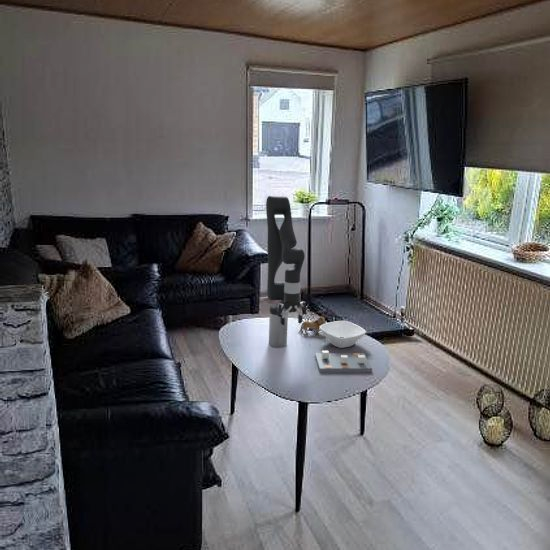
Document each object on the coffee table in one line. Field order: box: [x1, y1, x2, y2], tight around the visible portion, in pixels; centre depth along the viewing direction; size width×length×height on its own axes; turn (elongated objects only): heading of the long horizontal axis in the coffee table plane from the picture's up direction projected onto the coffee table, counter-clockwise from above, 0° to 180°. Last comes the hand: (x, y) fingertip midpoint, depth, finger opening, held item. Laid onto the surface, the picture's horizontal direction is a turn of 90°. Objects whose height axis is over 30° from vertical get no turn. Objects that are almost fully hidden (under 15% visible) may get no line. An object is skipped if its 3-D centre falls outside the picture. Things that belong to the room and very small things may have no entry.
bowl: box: [319, 320, 367, 349], centre depth 254 cm, size 21×21×9 cm
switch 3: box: [357, 355, 366, 363], centre depth 230 cm, size 2×3×3 cm
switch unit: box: [314, 352, 373, 373], centre depth 233 cm, size 16×24×2 cm, turn 94°
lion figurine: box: [298, 316, 326, 335], centre depth 267 cm, size 15×5×9 cm, turn 103°
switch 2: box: [340, 355, 348, 363], centre depth 230 cm, size 2×3×3 cm
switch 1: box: [321, 350, 330, 359], centre depth 234 cm, size 2×3×3 cm
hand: (291, 324), depth 234 cm, fingers open, 8 cm apart
